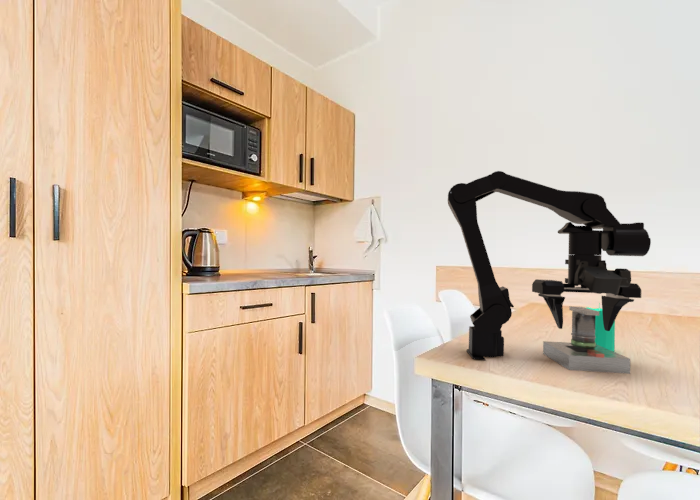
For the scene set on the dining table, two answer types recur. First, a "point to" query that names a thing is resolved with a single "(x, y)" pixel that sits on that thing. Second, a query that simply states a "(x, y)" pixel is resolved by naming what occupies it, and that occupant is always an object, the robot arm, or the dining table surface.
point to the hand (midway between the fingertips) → (583, 329)
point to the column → (583, 327)
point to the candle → (603, 332)
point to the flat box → (586, 358)
